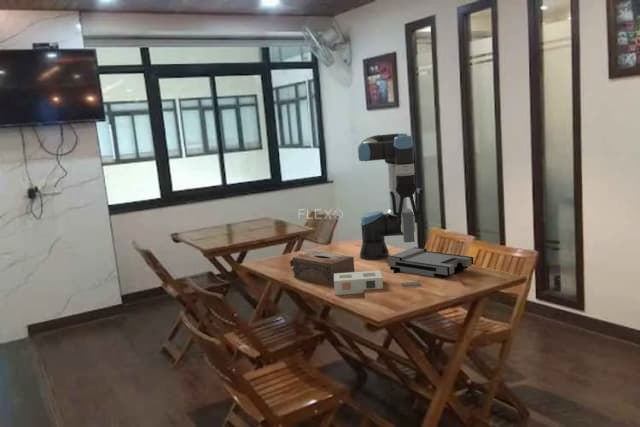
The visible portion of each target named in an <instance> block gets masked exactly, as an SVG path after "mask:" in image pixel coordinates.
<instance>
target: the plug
mask: <svg viewBox="0 0 640 427" xmlns="http://www.w3.org/2000/svg"><path fill="white" fill-rule="evenodd" d="M413 215H414V213H413V210H412V208H409V209H406V210H403V212H402V216H403V224H404V232H403V238H402V239H403V242H404V243H415V232H414V222H413Z"/></svg>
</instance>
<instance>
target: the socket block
mask: <svg viewBox="0 0 640 427" xmlns="http://www.w3.org/2000/svg"><path fill="white" fill-rule="evenodd" d="M383 282H384V281H383V275H382V272H381V270H380V269H379V270H365V271H355V272H349V273H335V274H334V285H333V286H334V295H335V296H340V295H355V294H356V295H357V294H365V290H379V289H381V290H382V289H384V285H383V284H384V283H383Z"/></svg>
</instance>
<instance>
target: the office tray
mask: <svg viewBox="0 0 640 427" xmlns="http://www.w3.org/2000/svg"><path fill="white" fill-rule="evenodd" d="M387 263H388V264H387V265H388V267H389V270H390V271H393V274H403V273H404V274H405V273H407V274H414V275H419V276H420V275H421V276H425V277H431V278H432V277H433V278H441V279H445V278H447V277H450V276H452V274H458V273H461V272H463V271H464V270H467V269H468V267H471V266H472V265H474V256H469V255H459V254H451V253H445V252H436V251H428V250H427V248H426V247H425V248H424V247H423V248H422V247H416V246H415V247H411V248H409V249H406V250H402V251H400V252H397V253H394V254H391V255H389V256H388V257H387Z"/></svg>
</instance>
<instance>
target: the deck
mask: <svg viewBox="0 0 640 427" xmlns="http://www.w3.org/2000/svg"><path fill="white" fill-rule="evenodd" d="M400 285H401V287H402V289H413V288H423V285H422V283H421V282H420V281H409V282H408V281H407V282H400Z"/></svg>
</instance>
